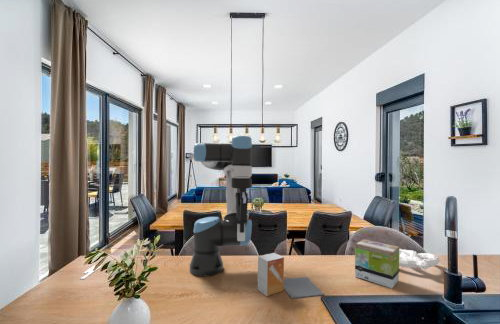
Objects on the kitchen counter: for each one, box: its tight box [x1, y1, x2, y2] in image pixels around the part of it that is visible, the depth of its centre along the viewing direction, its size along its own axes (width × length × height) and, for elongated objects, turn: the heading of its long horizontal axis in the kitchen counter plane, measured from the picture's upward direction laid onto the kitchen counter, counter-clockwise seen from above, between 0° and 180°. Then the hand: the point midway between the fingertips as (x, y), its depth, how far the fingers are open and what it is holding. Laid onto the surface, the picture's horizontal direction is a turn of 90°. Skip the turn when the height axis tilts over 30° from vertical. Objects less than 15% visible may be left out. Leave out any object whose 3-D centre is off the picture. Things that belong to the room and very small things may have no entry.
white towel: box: [399, 248, 441, 271], centre depth 126 cm, size 28×24×6 cm
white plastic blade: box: [79, 264, 103, 280], centre depth 115 cm, size 5×15×1 cm, turn 1°
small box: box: [257, 252, 285, 297], centre depth 100 cm, size 8×6×13 cm
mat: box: [283, 276, 325, 299], centre depth 102 cm, size 15×13×1 cm
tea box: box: [354, 238, 400, 289], centre depth 110 cm, size 15×10×15 cm, turn 47°
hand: (241, 240), depth 97 cm, fingers closed
